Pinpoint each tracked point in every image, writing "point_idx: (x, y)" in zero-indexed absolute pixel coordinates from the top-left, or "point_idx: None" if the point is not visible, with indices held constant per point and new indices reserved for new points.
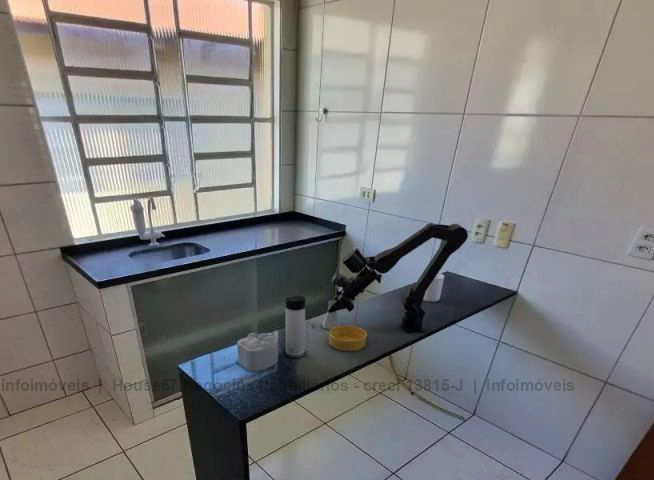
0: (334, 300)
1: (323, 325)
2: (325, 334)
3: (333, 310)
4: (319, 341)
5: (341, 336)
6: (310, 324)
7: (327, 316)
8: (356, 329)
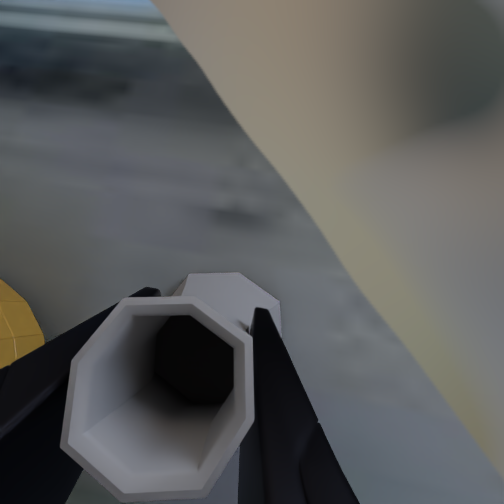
0: (223, 453)
1: (205, 275)
2: (104, 272)
3: None
4: (17, 220)
5: None
6: (267, 207)
7: (180, 294)
8: None
